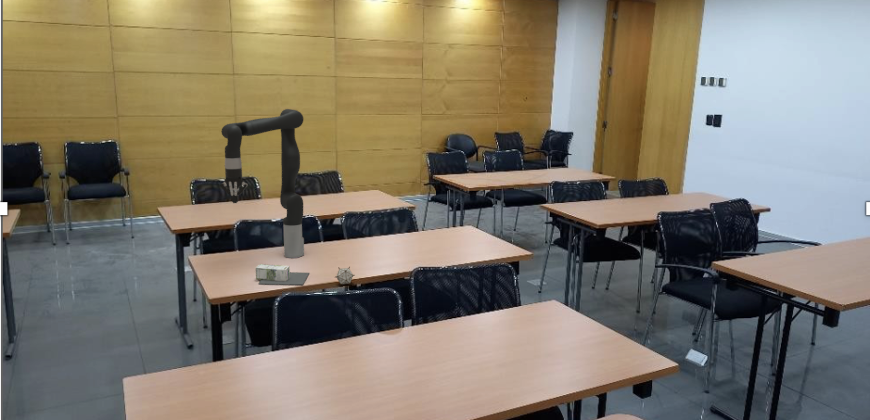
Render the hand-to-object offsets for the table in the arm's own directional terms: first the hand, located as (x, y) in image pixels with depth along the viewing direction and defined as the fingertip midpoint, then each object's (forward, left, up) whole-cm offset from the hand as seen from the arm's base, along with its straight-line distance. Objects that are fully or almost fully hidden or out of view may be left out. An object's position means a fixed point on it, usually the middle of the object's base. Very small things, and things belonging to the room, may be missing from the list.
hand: (235, 202), depth 298 cm
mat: (-9, +30, -32) cm, 45 cm away
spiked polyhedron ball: (-28, +52, -32) cm, 67 cm away
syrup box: (0, +22, -29) cm, 36 cm away
